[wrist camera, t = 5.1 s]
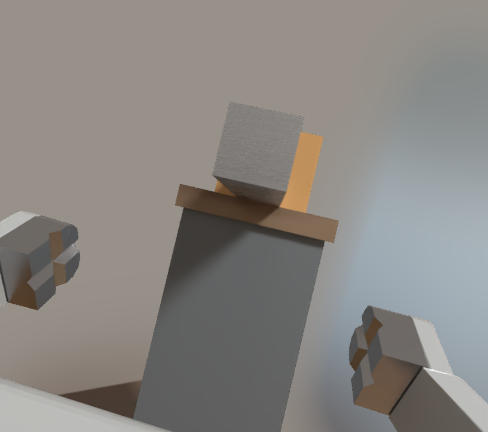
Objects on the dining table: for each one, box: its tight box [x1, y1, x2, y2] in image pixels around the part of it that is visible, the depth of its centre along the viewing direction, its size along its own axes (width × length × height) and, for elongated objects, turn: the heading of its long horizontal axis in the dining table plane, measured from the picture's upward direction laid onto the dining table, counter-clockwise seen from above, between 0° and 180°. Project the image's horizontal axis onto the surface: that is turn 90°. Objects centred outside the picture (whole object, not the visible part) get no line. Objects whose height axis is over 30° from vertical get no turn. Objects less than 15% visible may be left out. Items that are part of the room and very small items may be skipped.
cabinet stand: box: [133, 184, 338, 432], centre depth 27 cm, size 9×11×30 cm
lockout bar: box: [213, 102, 323, 213], centre depth 22 cm, size 18×7×6 cm, turn 176°
